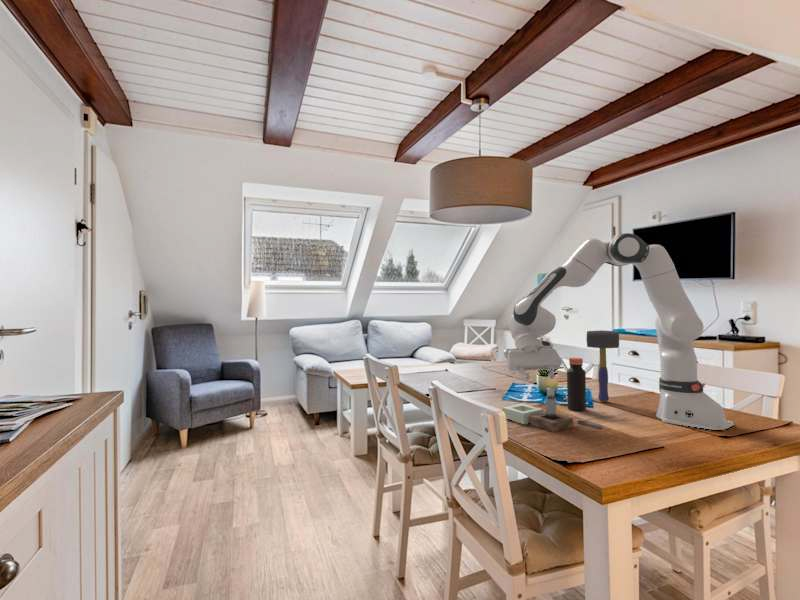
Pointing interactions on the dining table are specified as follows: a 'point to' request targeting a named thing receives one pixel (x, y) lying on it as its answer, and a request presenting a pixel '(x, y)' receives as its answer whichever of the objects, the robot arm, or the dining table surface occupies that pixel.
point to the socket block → (551, 422)
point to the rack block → (521, 412)
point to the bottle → (576, 385)
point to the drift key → (589, 424)
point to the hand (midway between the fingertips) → (539, 378)
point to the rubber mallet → (603, 356)
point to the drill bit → (550, 404)
